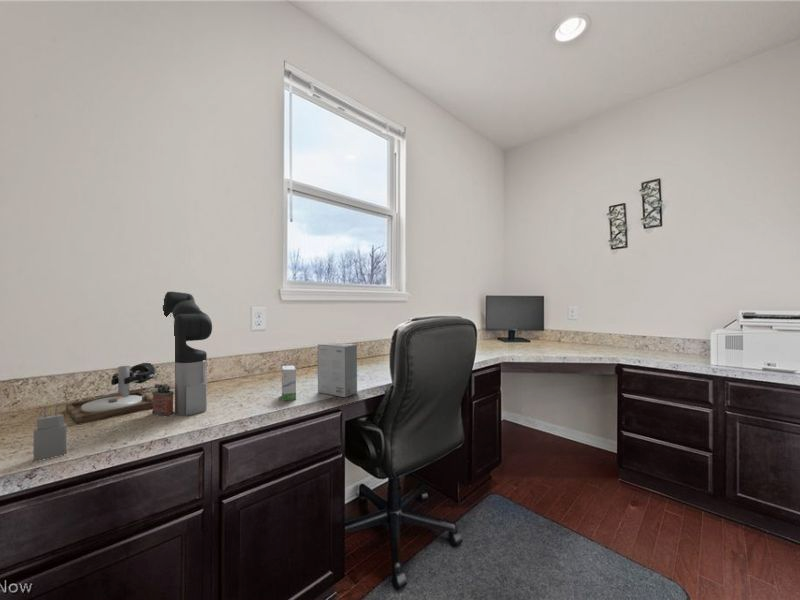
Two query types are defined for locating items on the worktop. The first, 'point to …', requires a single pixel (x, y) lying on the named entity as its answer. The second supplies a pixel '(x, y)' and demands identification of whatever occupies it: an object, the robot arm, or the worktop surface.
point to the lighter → (162, 400)
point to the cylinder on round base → (117, 401)
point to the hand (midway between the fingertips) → (119, 381)
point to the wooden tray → (81, 417)
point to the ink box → (288, 383)
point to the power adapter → (50, 436)
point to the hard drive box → (337, 369)
